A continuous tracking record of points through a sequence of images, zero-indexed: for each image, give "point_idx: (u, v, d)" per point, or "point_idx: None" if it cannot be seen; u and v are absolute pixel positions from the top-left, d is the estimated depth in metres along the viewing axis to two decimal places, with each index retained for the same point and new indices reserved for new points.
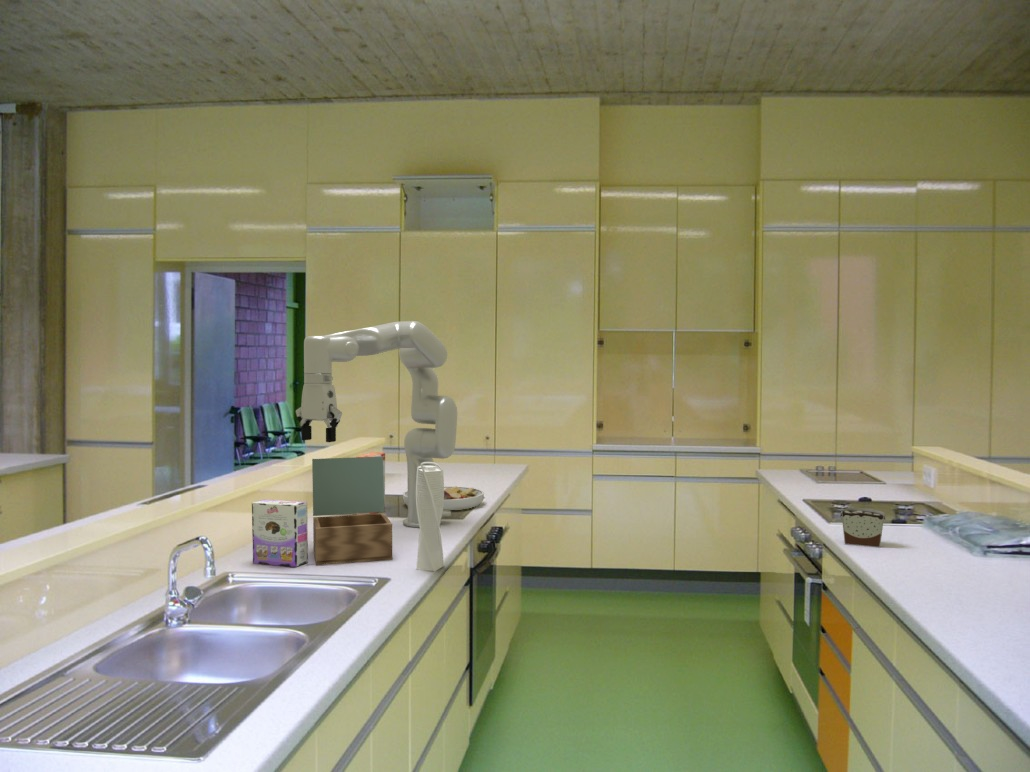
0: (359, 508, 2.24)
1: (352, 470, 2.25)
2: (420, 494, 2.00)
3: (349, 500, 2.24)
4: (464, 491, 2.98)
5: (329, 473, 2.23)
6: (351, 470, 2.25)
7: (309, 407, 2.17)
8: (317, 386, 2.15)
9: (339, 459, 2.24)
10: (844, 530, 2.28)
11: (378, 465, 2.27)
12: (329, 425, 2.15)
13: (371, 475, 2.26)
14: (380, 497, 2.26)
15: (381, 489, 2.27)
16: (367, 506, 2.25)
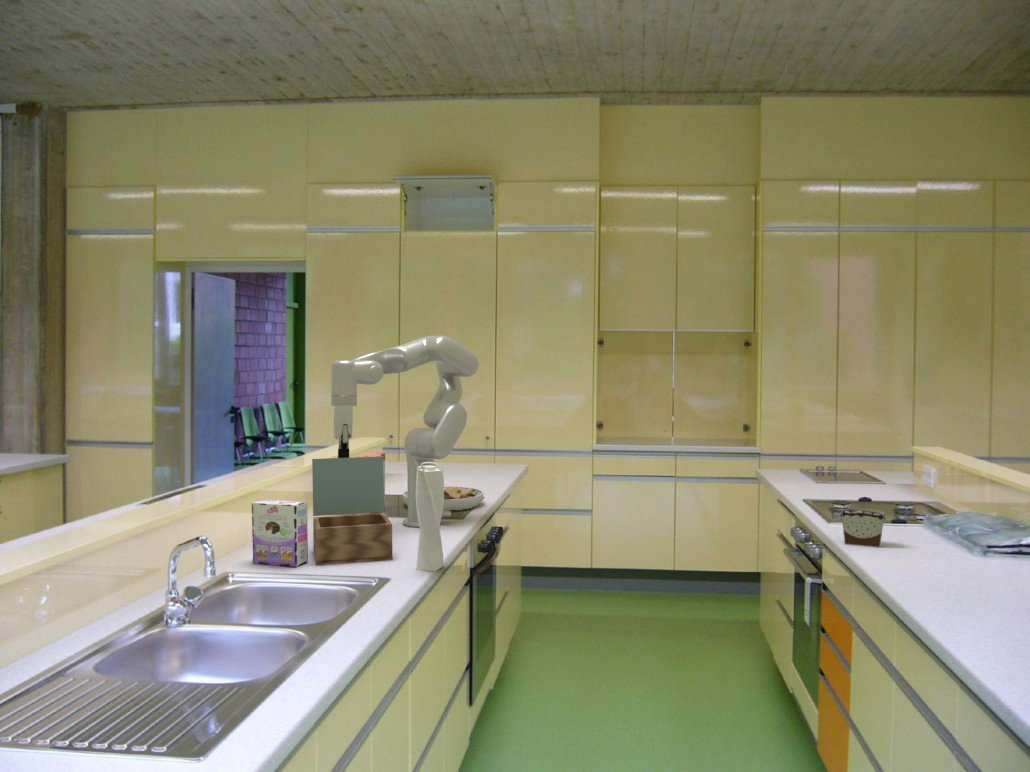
0: (359, 508, 2.24)
1: (352, 470, 2.25)
2: (420, 494, 2.00)
3: (349, 500, 2.24)
4: (464, 491, 2.98)
5: (329, 473, 2.23)
6: (351, 470, 2.25)
7: None
8: None
9: (339, 459, 2.24)
10: (844, 530, 2.28)
11: (378, 465, 2.27)
12: None
13: (371, 475, 2.26)
14: (380, 497, 2.26)
15: (381, 489, 2.27)
16: (367, 506, 2.25)
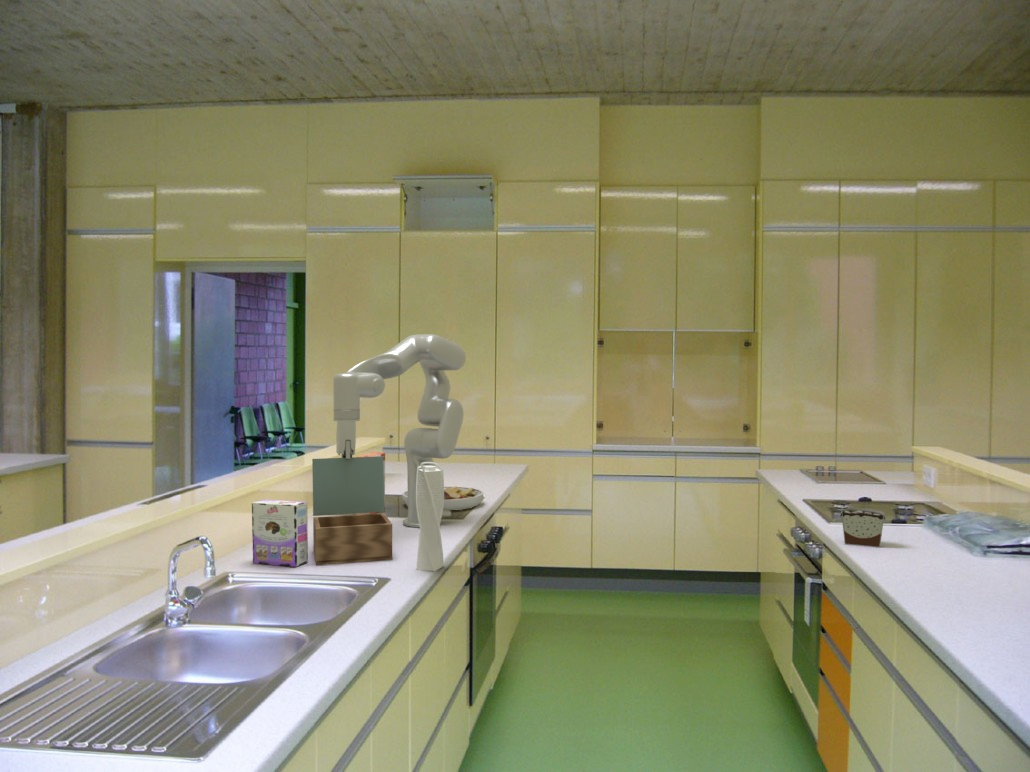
0: (359, 508, 2.24)
1: (352, 470, 2.24)
2: (420, 494, 2.00)
3: (349, 500, 2.23)
4: (464, 491, 2.98)
5: (329, 473, 2.22)
6: (351, 470, 2.24)
7: None
8: None
9: (339, 459, 2.24)
10: (844, 530, 2.28)
11: (378, 465, 2.27)
12: None
13: (371, 475, 2.26)
14: (380, 497, 2.26)
15: (381, 489, 2.26)
16: (367, 506, 2.25)
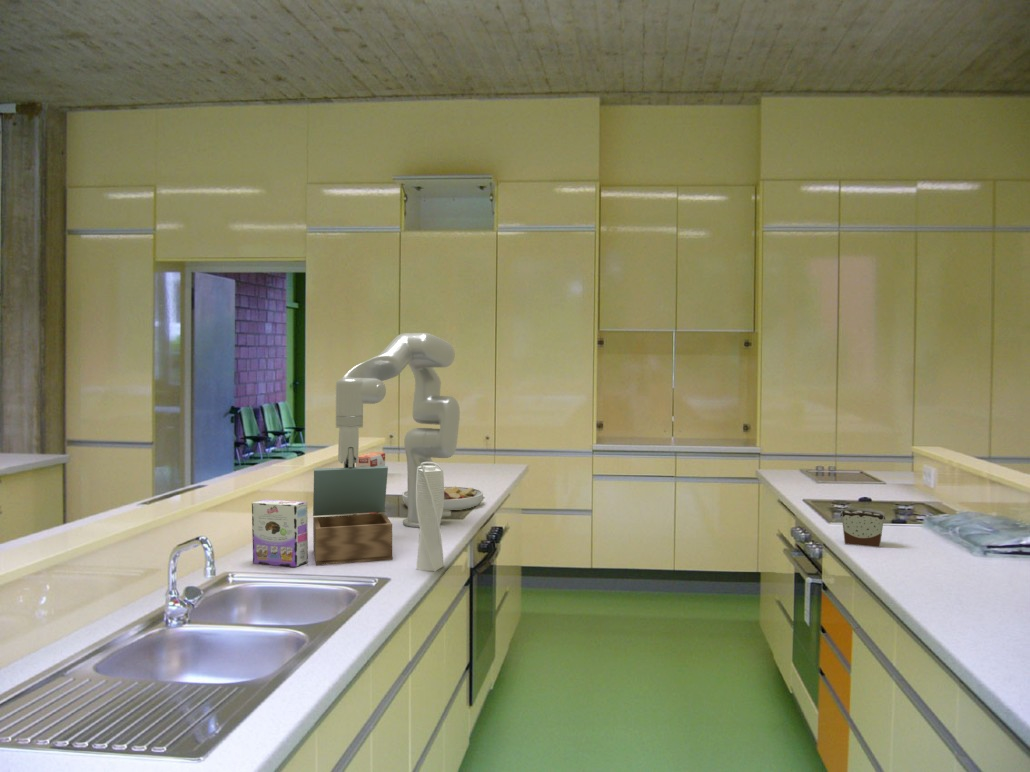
0: (359, 509, 2.23)
1: (355, 479, 2.17)
2: (420, 494, 2.00)
3: (350, 503, 2.21)
4: (463, 491, 2.98)
5: (331, 482, 2.16)
6: (354, 479, 2.17)
7: None
8: None
9: (342, 470, 2.14)
10: (844, 530, 2.28)
11: (382, 475, 2.19)
12: None
13: (374, 483, 2.19)
14: (381, 500, 2.24)
15: (383, 494, 2.22)
16: (367, 507, 2.24)
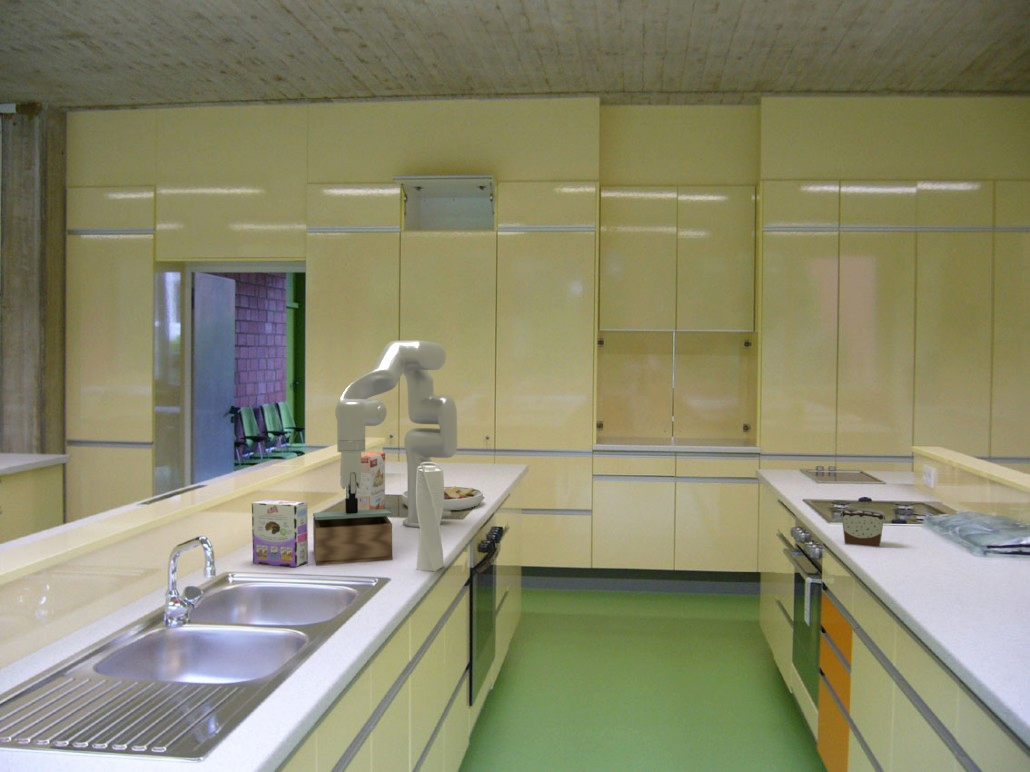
0: None
1: None
2: (420, 494, 2.00)
3: None
4: (463, 491, 2.98)
5: None
6: None
7: None
8: None
9: None
10: (844, 530, 2.28)
11: None
12: None
13: None
14: None
15: None
16: None
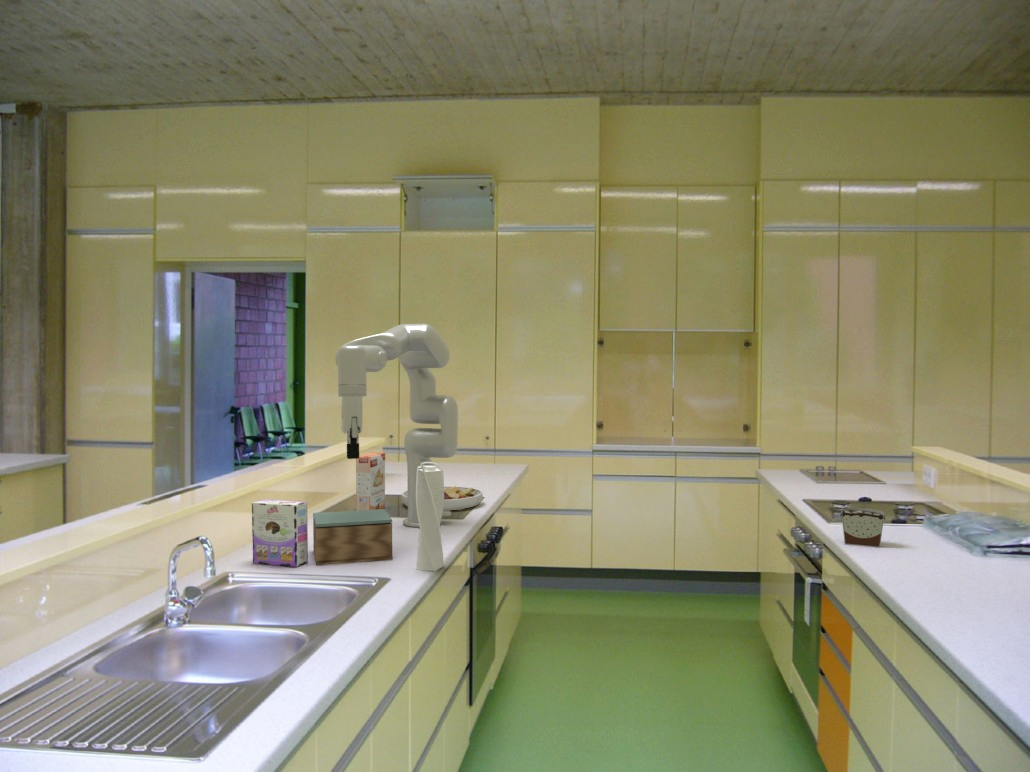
0: None
1: None
2: (420, 494, 2.00)
3: None
4: (463, 491, 2.98)
5: None
6: None
7: None
8: None
9: None
10: (844, 530, 2.28)
11: None
12: None
13: None
14: None
15: None
16: None
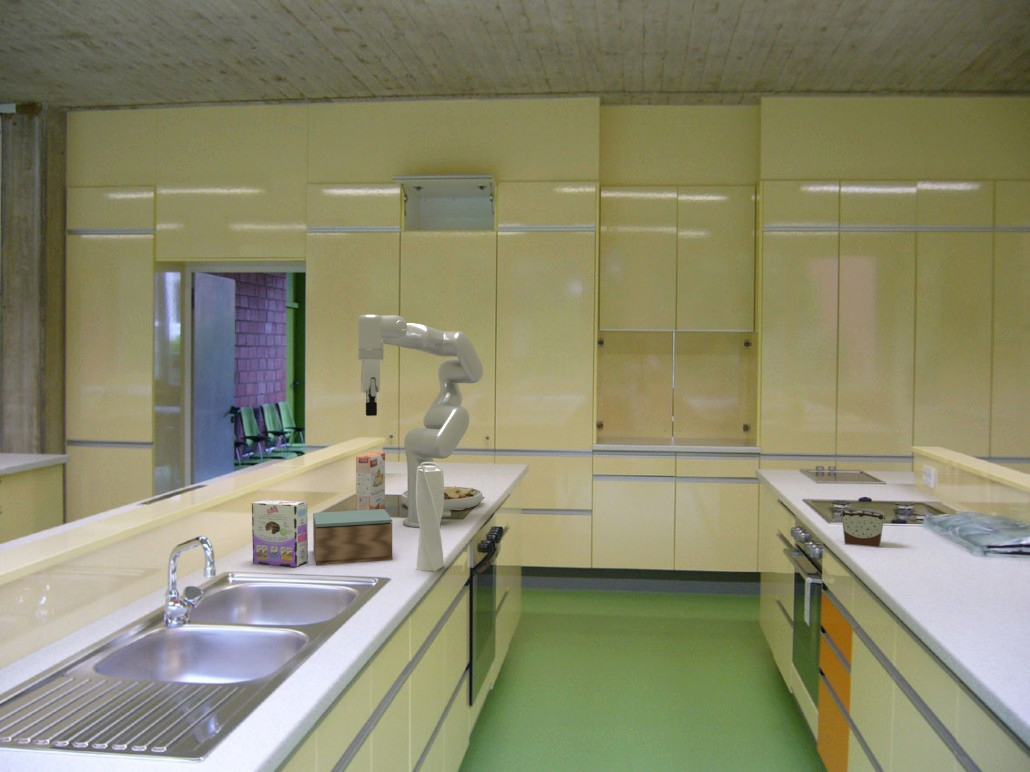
0: None
1: None
2: (420, 494, 2.00)
3: None
4: (463, 491, 2.98)
5: None
6: None
7: None
8: None
9: None
10: (844, 530, 2.28)
11: None
12: None
13: None
14: None
15: None
16: None
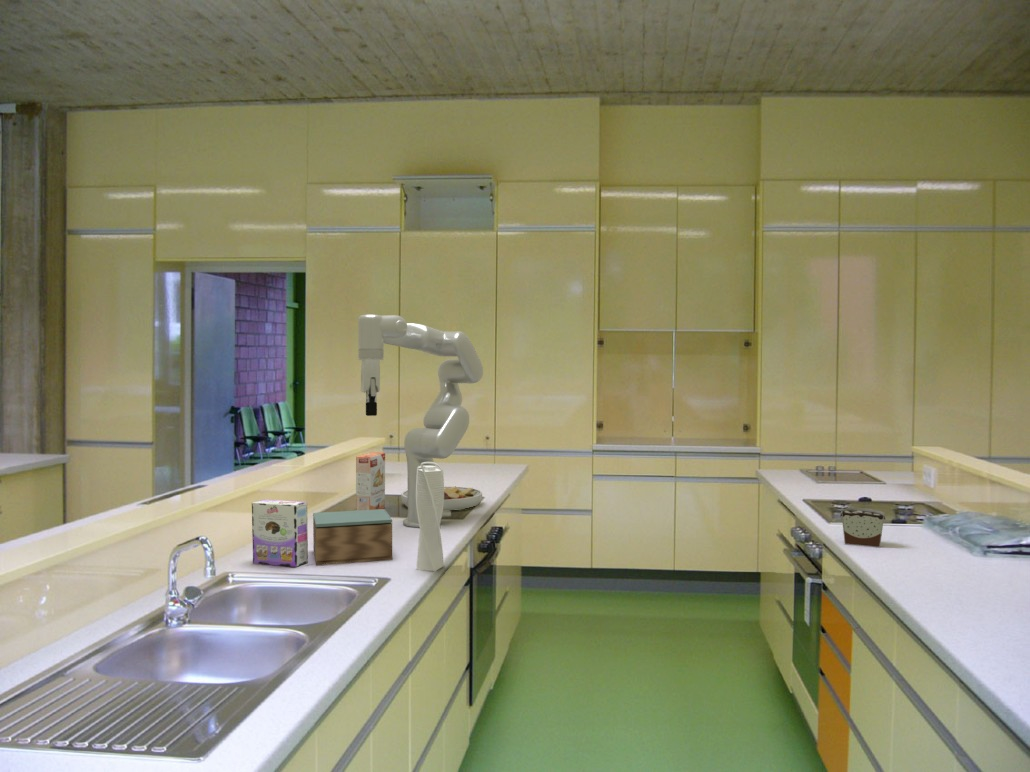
0: None
1: None
2: (420, 494, 2.00)
3: None
4: (463, 491, 2.98)
5: None
6: None
7: None
8: None
9: None
10: (844, 530, 2.28)
11: None
12: None
13: None
14: None
15: None
16: None
